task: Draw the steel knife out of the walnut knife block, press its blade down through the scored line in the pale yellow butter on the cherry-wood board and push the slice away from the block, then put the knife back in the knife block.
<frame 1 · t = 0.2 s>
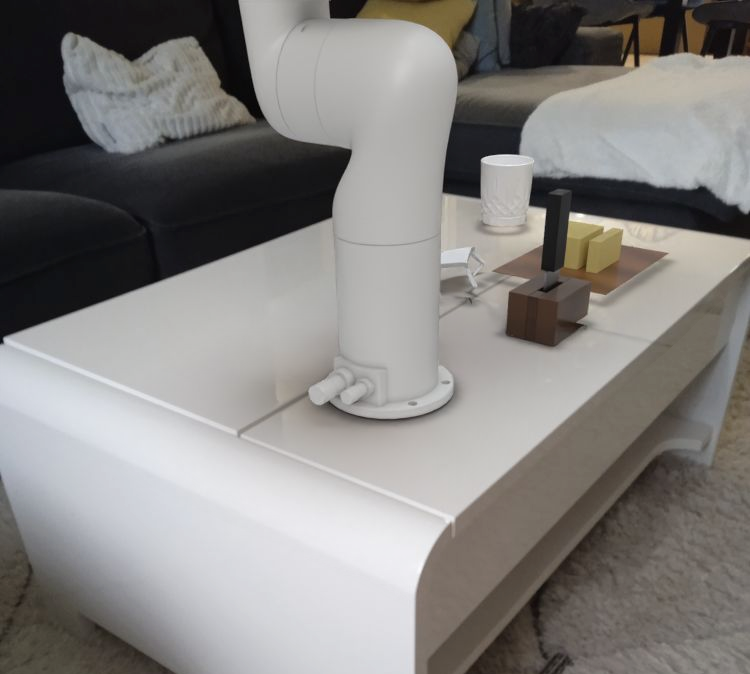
knife: (552, 263, 89), in the knife block
butter board: (580, 270, 110), on the table
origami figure: (454, 295, 104), on the table
butter slice: (602, 265, 108), point 1 cm above the table, touching butter board
white cup: (503, 229, 128), on the table
knife block: (546, 329, 93), on the table
butter block: (571, 259, 110), point 1 cm above the table, touching butter board
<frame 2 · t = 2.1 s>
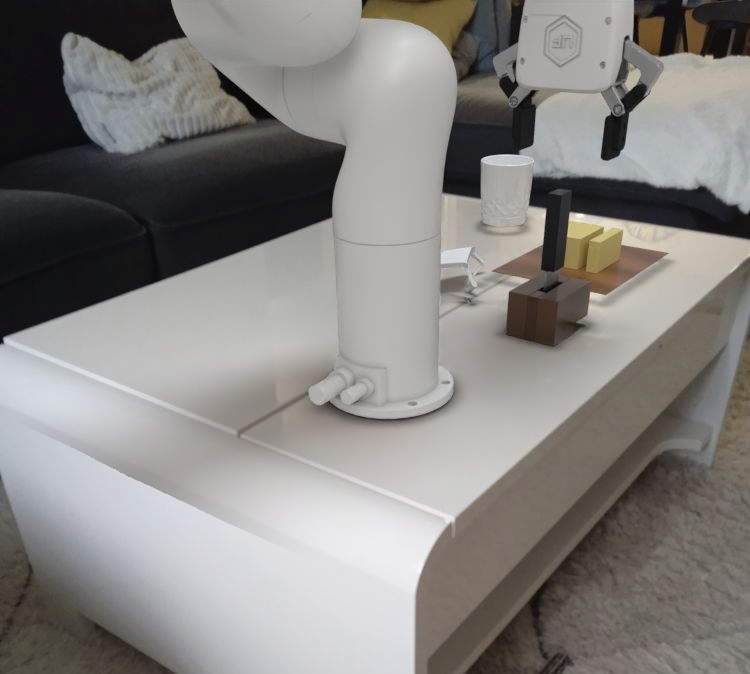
hand: (565, 153, 83), 19 cm above the table, tool pointing down, fingers open, 9 cm apart
nothing on the table moved.
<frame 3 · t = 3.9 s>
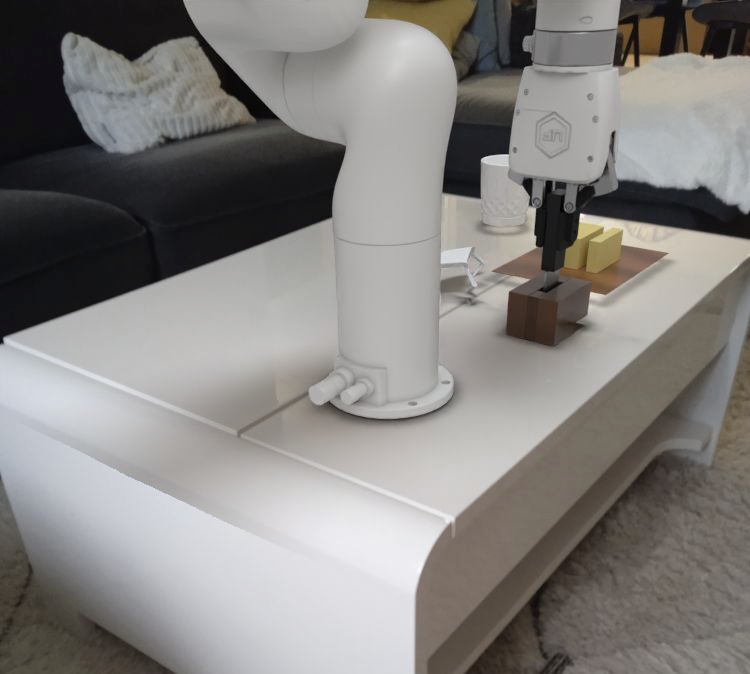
hand: (554, 244, 88), 10 cm above the table, tool pointing down, fingers closed on knife, 1 cm apart
knife: (552, 263, 89), in the knife block, touching gripper
everything else where it was.
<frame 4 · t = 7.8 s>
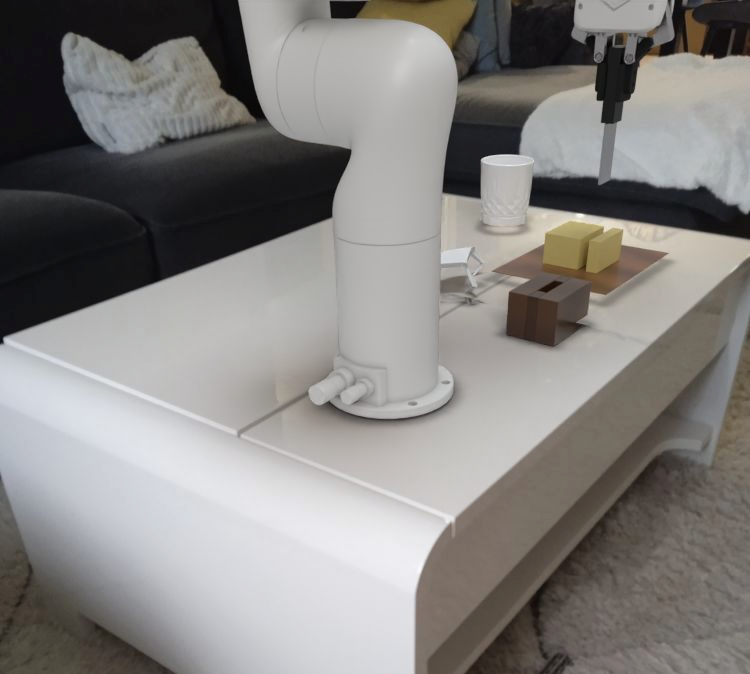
hand: (613, 99, 98), 21 cm above the table, tool pointing down, fingers closed on knife
knife: (611, 117, 99), point 19 cm above the table, touching gripper
everything else where it was.
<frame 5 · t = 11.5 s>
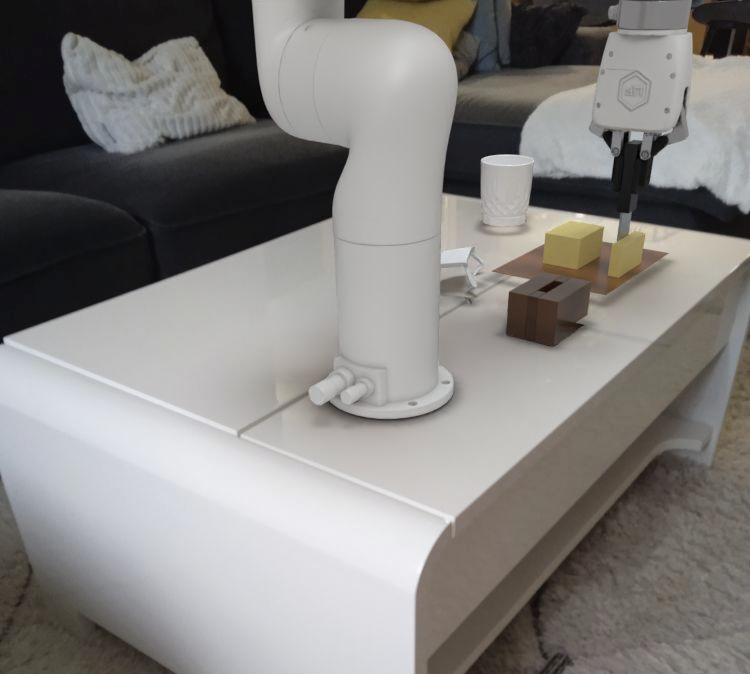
hand: (629, 189, 102), 11 cm above the table, tool pointing down, fingers closed on knife, 1 cm apart
knife: (626, 206, 103), point 9 cm above the table, touching butter slice, gripper
butter slice: (624, 269, 107), point 1 cm above the table, touching butter board, knife
everything else where it was.
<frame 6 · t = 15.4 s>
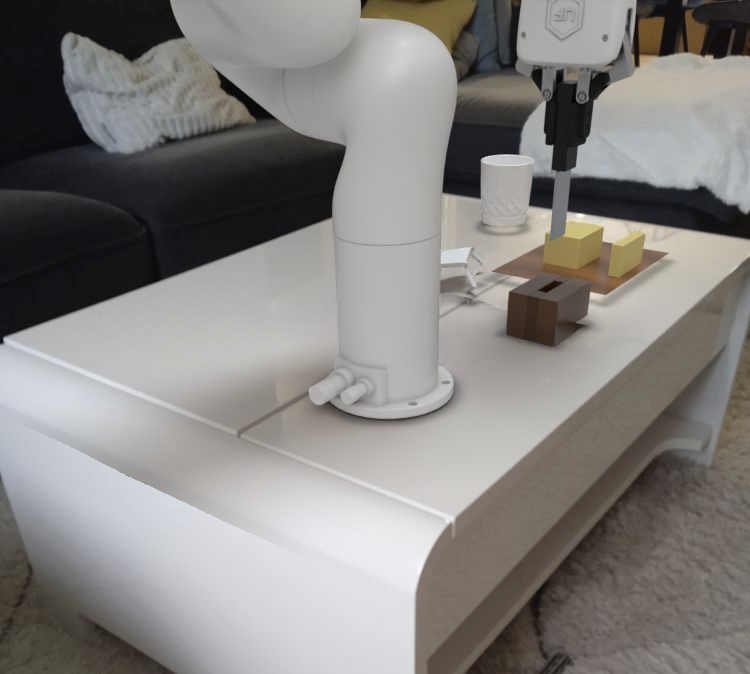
hand: (565, 143, 83), 20 cm above the table, tool pointing down, fingers closed on knife
knife: (564, 163, 84), point 18 cm above the table, touching gripper
butter slice: (624, 269, 107), point 1 cm above the table, touching butter board
everything else where it was.
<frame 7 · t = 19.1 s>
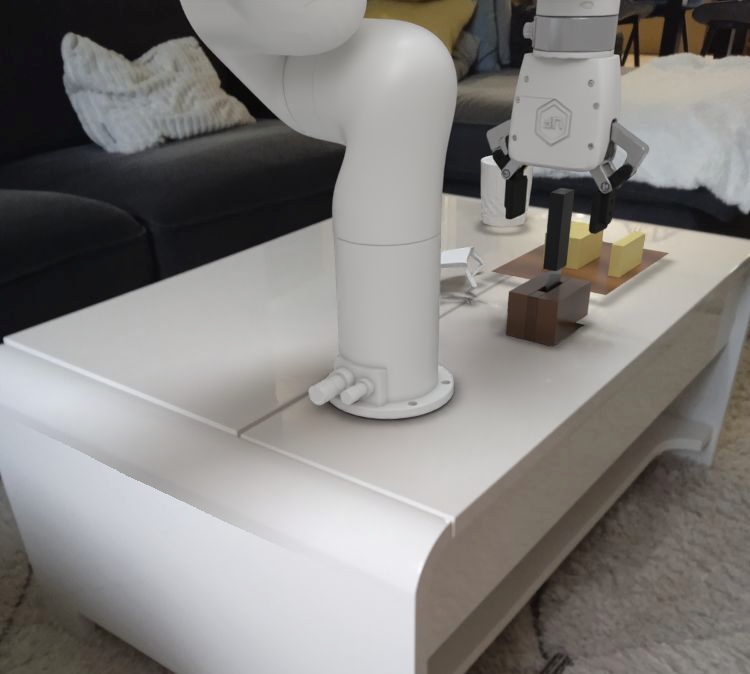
hand: (555, 223, 87), 12 cm above the table, tool pointing down, fingers open, 9 cm apart
knife: (555, 262, 90), in the knife block
everything else where it was.
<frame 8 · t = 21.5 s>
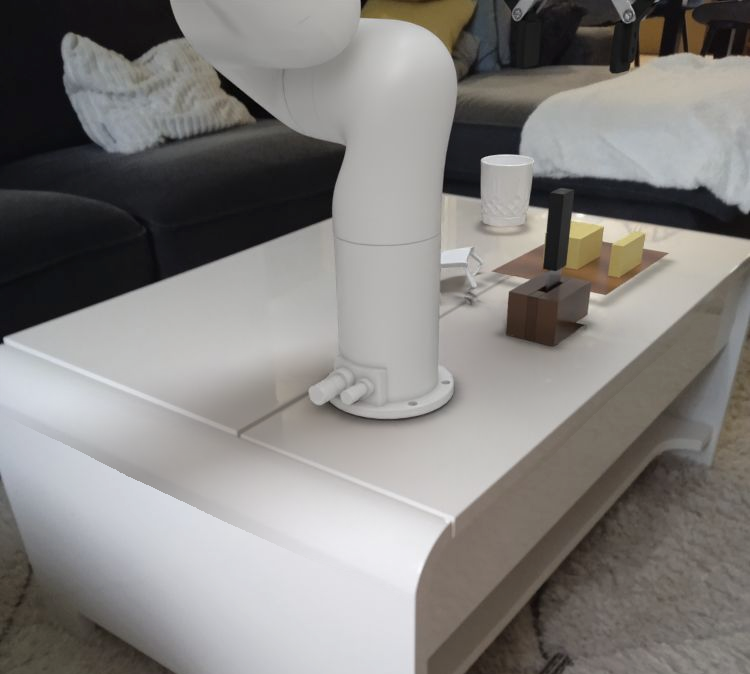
hand: (571, 69, 79), 26 cm above the table, tool pointing down, fingers open, 9 cm apart
nothing on the table moved.
at the end: butter slice 0.2 cm from the target spot on the butter board, point 1.2 cm above the butter board's base; knife 0.4 cm off-centre on the knife block, point 7.5 cm above the knife block's base; the gripper is holding nothing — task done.
